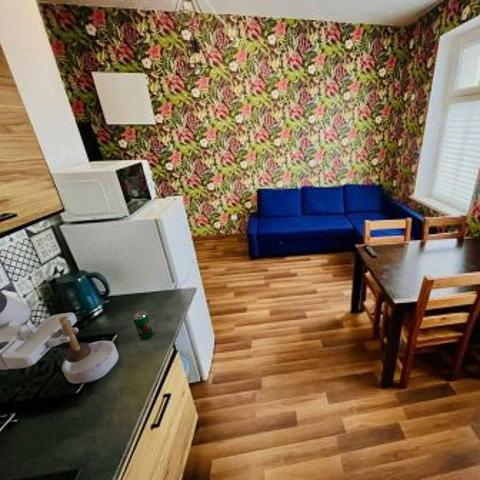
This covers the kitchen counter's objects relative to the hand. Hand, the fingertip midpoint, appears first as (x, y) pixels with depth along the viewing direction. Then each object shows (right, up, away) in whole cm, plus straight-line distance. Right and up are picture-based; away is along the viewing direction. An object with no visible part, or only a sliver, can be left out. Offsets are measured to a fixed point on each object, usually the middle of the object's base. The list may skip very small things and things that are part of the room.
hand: (73, 334), depth 84 cm
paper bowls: (-6, -20, +16) cm, 26 cm away
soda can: (+2, -13, +32) cm, 35 cm away
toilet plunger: (-1, -8, +3) cm, 9 cm away
